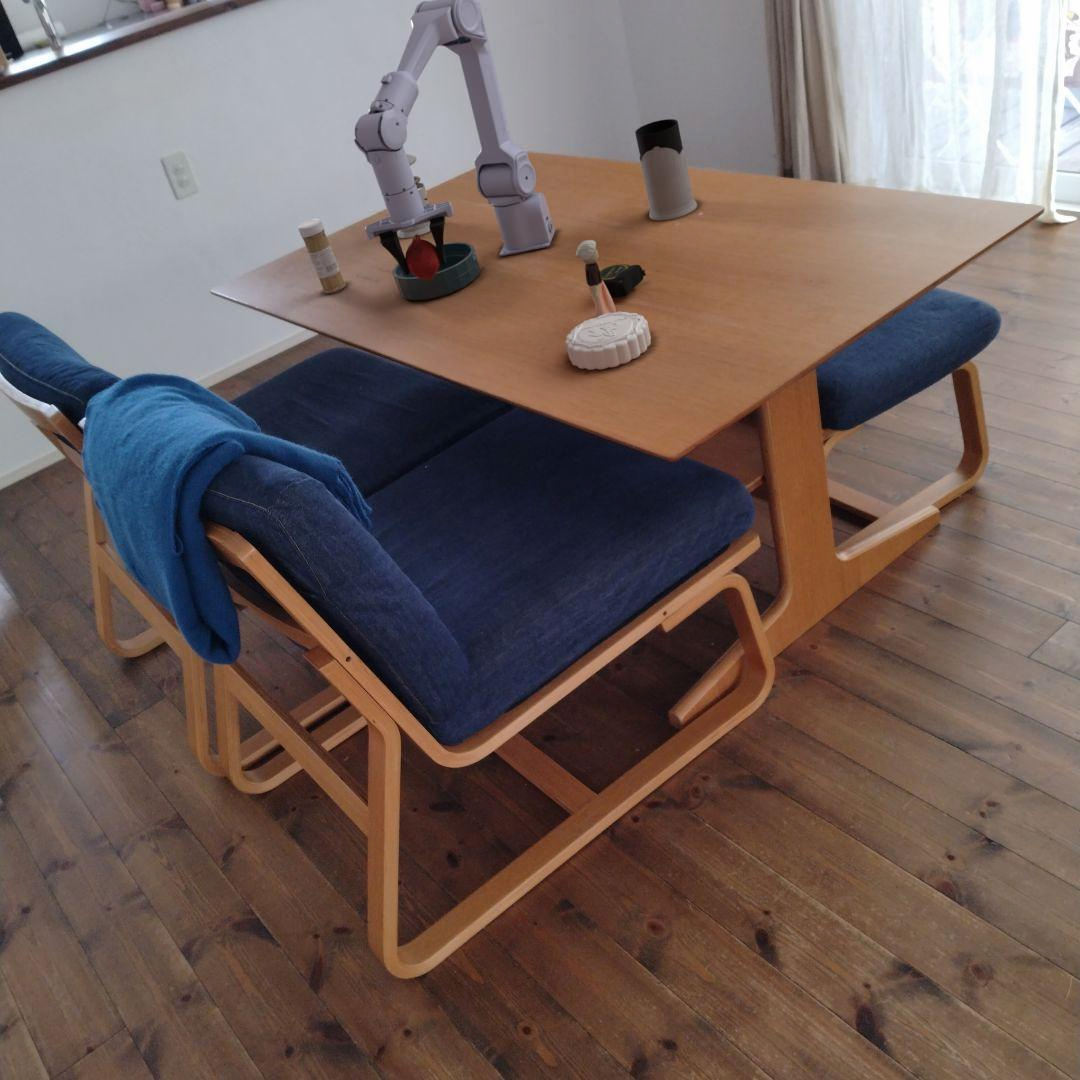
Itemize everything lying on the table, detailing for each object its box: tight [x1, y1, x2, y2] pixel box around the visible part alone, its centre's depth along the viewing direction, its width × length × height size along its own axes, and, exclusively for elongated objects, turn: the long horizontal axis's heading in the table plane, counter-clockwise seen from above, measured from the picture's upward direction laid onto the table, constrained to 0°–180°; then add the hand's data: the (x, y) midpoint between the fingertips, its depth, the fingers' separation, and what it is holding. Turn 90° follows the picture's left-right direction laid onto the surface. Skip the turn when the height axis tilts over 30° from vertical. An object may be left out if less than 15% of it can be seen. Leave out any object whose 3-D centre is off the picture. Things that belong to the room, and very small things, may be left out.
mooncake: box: [564, 311, 652, 371], centre depth 157 cm, size 12×12×4 cm
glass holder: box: [634, 118, 698, 221], centre depth 197 cm, size 9×14×15 cm, turn 167°
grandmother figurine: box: [575, 239, 617, 318], centre depth 164 cm, size 8×4×13 cm, turn 12°
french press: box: [397, 153, 431, 239], centre depth 225 cm, size 10×12×25 cm
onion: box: [405, 234, 441, 281], centre depth 184 cm, size 6×6×8 cm
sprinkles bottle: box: [297, 218, 346, 294], centre depth 209 cm, size 5×5×14 cm
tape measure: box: [600, 263, 646, 300], centre depth 173 cm, size 7×7×4 cm
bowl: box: [392, 241, 482, 301], centre depth 199 cm, size 15×15×4 cm
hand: (425, 267), depth 185 cm, fingers closed on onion, 6 cm apart
